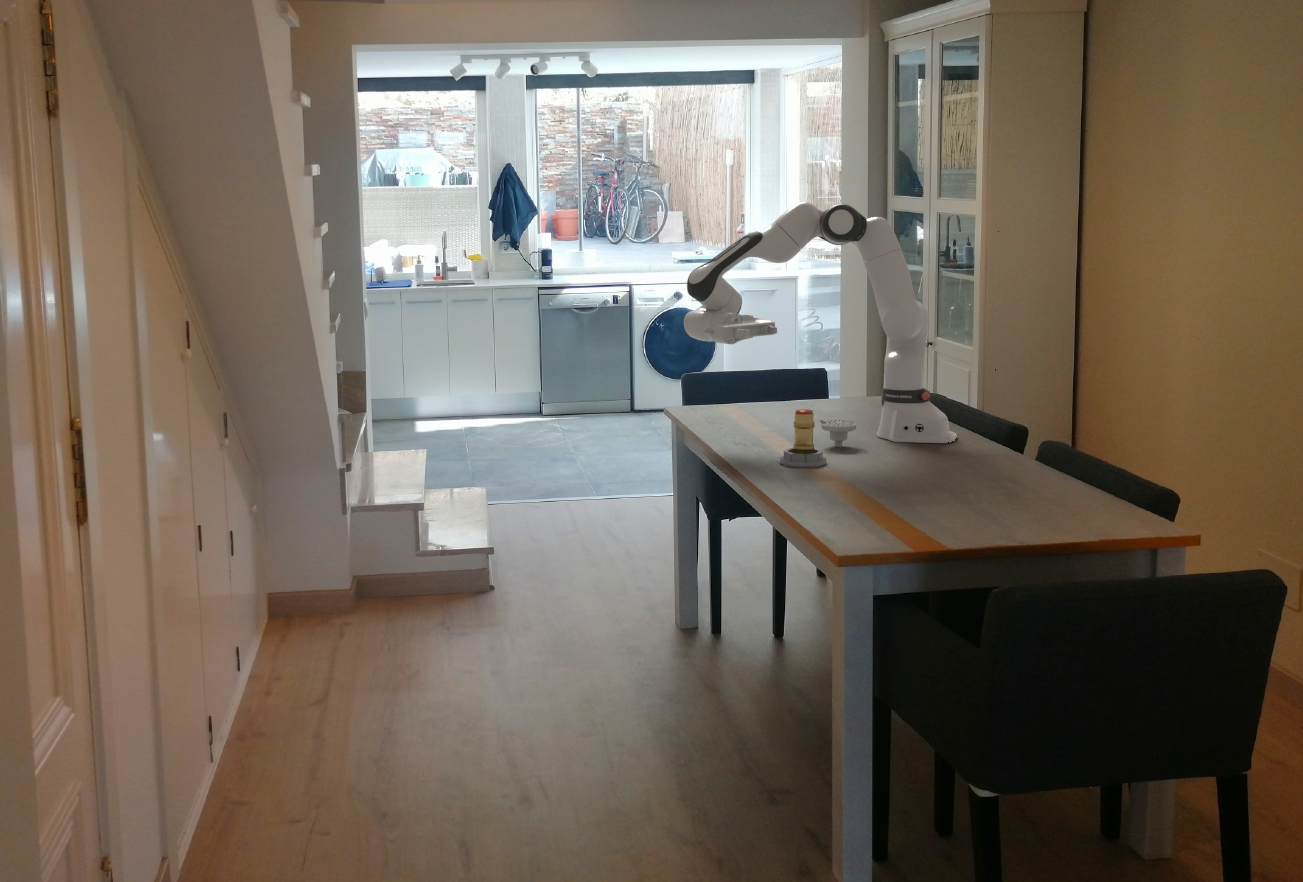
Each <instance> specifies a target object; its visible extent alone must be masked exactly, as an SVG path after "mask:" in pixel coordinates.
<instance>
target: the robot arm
mask: <svg viewBox="0 0 1303 882" xmlns="http://www.w3.org/2000/svg"><path fill="white" fill-rule="evenodd" d="M817 237H818V238H820V239H821V240H823V241H825V242H827V243H829V244H831V245H833V246H843V245H846V244H849V243H851V244H854V245H855V246H856V248H858V251H859V252H860V254H861V255H860V256H861V259H862V261H863V265H864V267H865V270H866V273H867V276H868V279H869V281H870V284H871V288H872V290H873V294H874V298H875V304H876V306H877V307H876V308H877V310H878V311H877V312H878V315H879V318H880V319H879V320H880V322H881V326H882V330H883V332H884V334H885V335H886V336H887V339H886V340H887V341H886V348H885V349H886V350H885V356H884V362H883V363H884V367H883V369H884V370H883V371H884V372H883V387H882V388H881V396H880V397H881V398H880V399H881V407H882V409H881V415H880V416H881V417H880V421H879V426H878V430H877V432H876V437H878V438H880V439H884V440H887V441H888V440H889V441H891V442H893V443H894V442H896V443H920V444H921V443H923V444H924V443H925V444H948V442H949V443H953V442H955V441H956V440H957V439H958V438H957V437H958V434H957V433H956V432H954V431H951V430H950V424H949V419H948V416H947V415H946V413H944V412H943V411H942V410H940V409H939V408H938V407H937V406H935V405H934V404H933V403H931V401H930V400H931V390H930V389H929V390H928V389H927V388H925V387H924V367H925V355H926V354H925V353H926V343H927V338H928V337H927V336H928V324H929V322H928V321H929V315H928V310H927V308H926V307H925V306H924V305H923V304H922V303H921V302H920V301H919V300H917V298H916V294H915V290H914V287H913V286H914V285H913V282H912V276H911V273H910V270H909V269H910V268H909V267H908V264H907V261H906V259H905V255H904V252H903V250H902V247H901V244H900V241H899V240H898V238H897V235H896V232H895V231H894V230H893V227H892V226H891V224H890V223H889V221H888V220H887V219H886V218H885V217H882V216H872V217H868V218H866V217H865V216H864V215H862V214H861V213H860V212H859V211H858V210H857V209H855V208H854V207H853V206H852V205H849V204H846V203H836V204H833V205H831V206H830V207H828V208H827V209H826V210H820V209H819V208H818V207H816V205H814V204H813V203H810V202H809V201H799V202H797V203H796V204H794V205H793V206H792V207H790V208H789V209H787V210H786V211H785V212H783V213H782V214H781V215H780V216H779V217H778V218H777V219H775V221H774V222H772V223H771V224H770V225H769V226H767V227H766V228H763V229H760V230H758V231H757V230H753V231H749V232H748V233H746V234H744V235H743V236H741V237H740V238H739V239H737V240H735V241H734V242H733V243H732V244H730V245H729V246H728V247H727V248H725V249H724V250H722V251H721V252H720V253H718V254H717V255H715V256H714V257H712V258H711V259H710V260H708V261H707V262H705V263H703V264H701V265H699V266H697V267H696V268H695V269H693V270H692V271H691V272H690V274H689V275H688V278H687V282H686V291H687V294H688V295H689V296H690V297H692V298H693V299H694V300H695V301H697V302H699V304H701V306H699V307H698V308H696V309H695V310H691V311H688V312H687V313H686V314H685V315H684V318H683V327H684V331H685V332H686V334H687V335H688V336H689V337H691V338H693V339H695V340H697V341H703V342H708V343H709V342H715V343H717V344H723V345H735V344H737V343H738V342H741V341H744V340H748V339H753V338H754V337H755V338H756V337H763V336H773V335H776V334H778V328H777V327H776V323H775V321H773V320H771V319H770V320H769V319H764V318H758V317H754V315H753V314H740V311H741V309H742V305H743V298H742V295H741V294H740V292H738V291H737V290H736V288H735V287H733V286H732V285H731V284H730V283H729V282H728V281H727V280H726V279H725V278H724V277H723V276H724V275H725V274H726V273H728V272H729V271H730V270H731V269H733V268H734V267H735V266H737V265H738V264H740V263H741V262H743V260H745V259H748V258H758V259H761V260H764V261H767V262H770V263H775V264H783V263H787V262H789V261H791V260H792V259H793V258H794V257H795V256H797V254H799V253H800V252H801V251H802V250H803V249H804V248H805V246H806V245H808V243H810V242H811V241H812V240H814V239H815V238H817ZM956 438H957V439H956ZM955 439H956V440H955ZM952 441H953V442H952Z"/></svg>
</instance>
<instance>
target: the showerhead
mask: <svg viewBox="0 0 1303 882" xmlns="http://www.w3.org/2000/svg"><path fill="white" fill-rule="evenodd" d="M819 422H820V424H821V429H822V431H827V432H829V440H830V441H833V442H834V447H837V448H842V447H843V442H845V441H847V440H848V433H849V432H854V431H855V430H856V429H857V424H856V423H855V422H853V421H851V420H850V421H849V420H841V419H838V420H836V419H834V420H827V421H825V420H823V419H821V420H819Z"/></svg>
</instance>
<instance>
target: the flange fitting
mask: <svg viewBox="0 0 1303 882" xmlns="http://www.w3.org/2000/svg"><path fill="white" fill-rule="evenodd" d="M823 453H824V452H823V450H821V449H819V448H817V447H816V448H815V447H814V450H813V453H812V454H795V453H794V450H793V447H788V448H786V449H785V450H783V455H782V456H780V457H779V464H780V463H781V464H783V465H782V466H784V465H786V466H785V467H788V466H789V468H795V467H815V468H819V466H821V467H823V466H822V465H824V466H826V465H827V458H826V457H825V456H823V455H824V454H823ZM781 464H780V465H781ZM825 464H826V465H825Z"/></svg>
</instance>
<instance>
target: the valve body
mask: <svg viewBox="0 0 1303 882" xmlns="http://www.w3.org/2000/svg"><path fill="white" fill-rule="evenodd" d="M814 415H815V413H814V410H812V409H804V408H803V409H796V410H795V411H794V421H793V427H794V443H793V445H792V448H793V450H794V453H795V454H812V453H813V450H814V448H815V444H814V428H815V421H814Z"/></svg>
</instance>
